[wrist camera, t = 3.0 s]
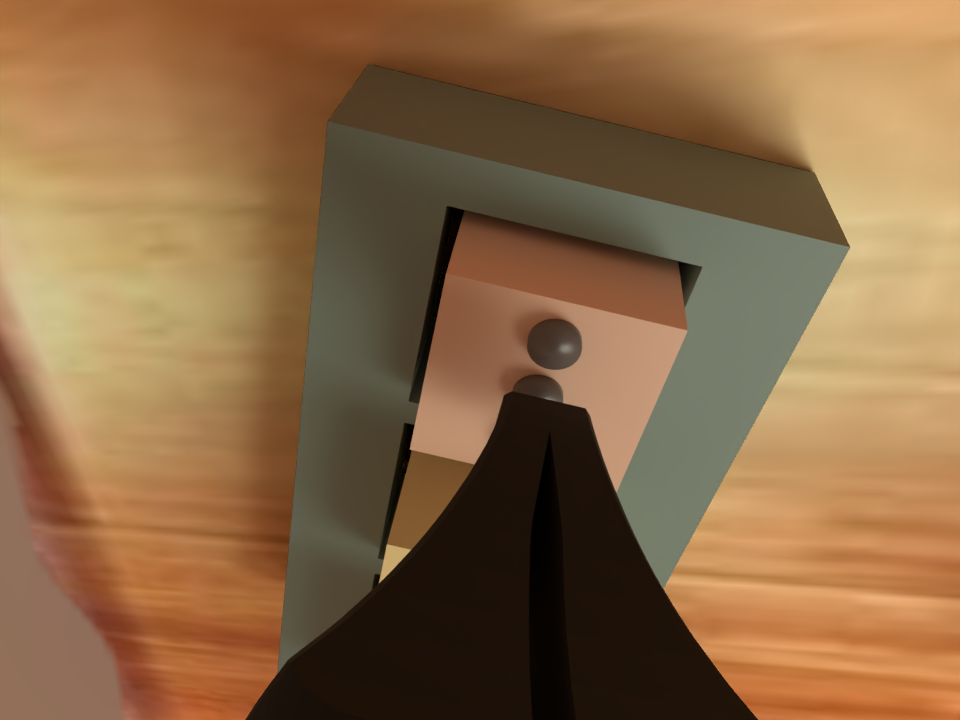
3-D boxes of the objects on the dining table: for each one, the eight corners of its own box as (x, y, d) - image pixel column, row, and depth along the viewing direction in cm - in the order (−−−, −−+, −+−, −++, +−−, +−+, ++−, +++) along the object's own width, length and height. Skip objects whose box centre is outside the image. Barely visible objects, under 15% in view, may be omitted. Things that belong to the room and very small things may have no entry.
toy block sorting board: (581, 652, 27) (578, 742, 24) (306, 590, 27) (277, 675, 24) (814, 173, 16) (849, 247, 14) (368, 64, 16) (327, 121, 14)
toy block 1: (554, 542, 22) (543, 711, 18) (402, 507, 21) (360, 671, 18) (598, 431, 19) (595, 600, 15) (427, 392, 19) (384, 552, 15)
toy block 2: (612, 356, 19) (614, 504, 16) (445, 317, 19) (407, 456, 16) (670, 205, 17) (689, 338, 13) (479, 159, 17) (444, 280, 13)
